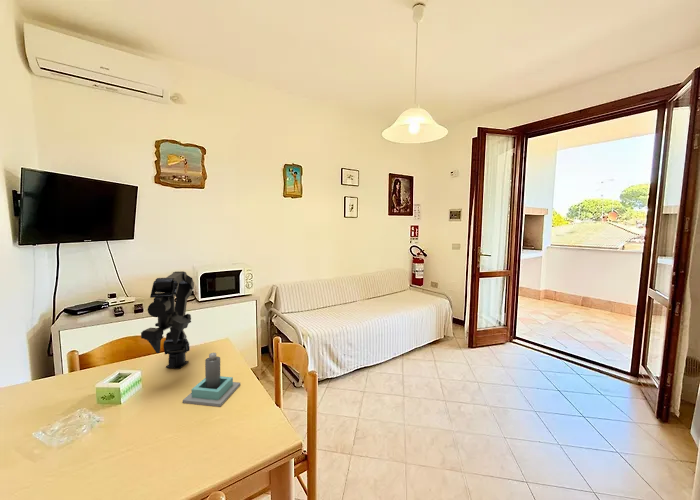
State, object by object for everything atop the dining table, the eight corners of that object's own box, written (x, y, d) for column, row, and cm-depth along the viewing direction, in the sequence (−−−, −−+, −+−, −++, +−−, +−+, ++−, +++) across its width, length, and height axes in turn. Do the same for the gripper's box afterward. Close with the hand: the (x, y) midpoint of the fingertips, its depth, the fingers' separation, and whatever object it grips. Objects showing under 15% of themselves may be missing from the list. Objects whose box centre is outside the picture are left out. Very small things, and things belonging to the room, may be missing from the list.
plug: (206, 388, 109) (205, 352, 108) (220, 386, 111) (220, 350, 110) (204, 395, 105) (204, 357, 104) (220, 393, 106) (219, 355, 105)
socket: (206, 381, 116) (206, 372, 115) (240, 385, 114) (240, 375, 114) (182, 402, 102) (182, 391, 101) (220, 406, 100) (220, 395, 100)
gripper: (167, 318, 104) (168, 360, 105) (200, 304, 122) (200, 340, 124) (139, 316, 105) (140, 357, 106) (175, 303, 124) (176, 338, 125)
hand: (167, 348), depth 115 cm, fingers open, 9 cm apart
